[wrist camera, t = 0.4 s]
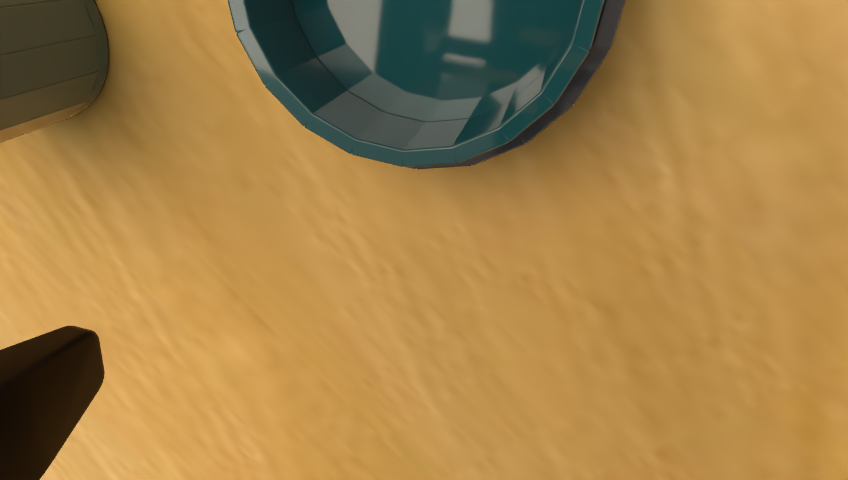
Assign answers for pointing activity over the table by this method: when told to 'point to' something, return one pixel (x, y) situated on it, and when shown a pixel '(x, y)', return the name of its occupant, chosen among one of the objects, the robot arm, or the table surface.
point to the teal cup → (48, 62)
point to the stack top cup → (416, 69)
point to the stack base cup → (573, 91)
